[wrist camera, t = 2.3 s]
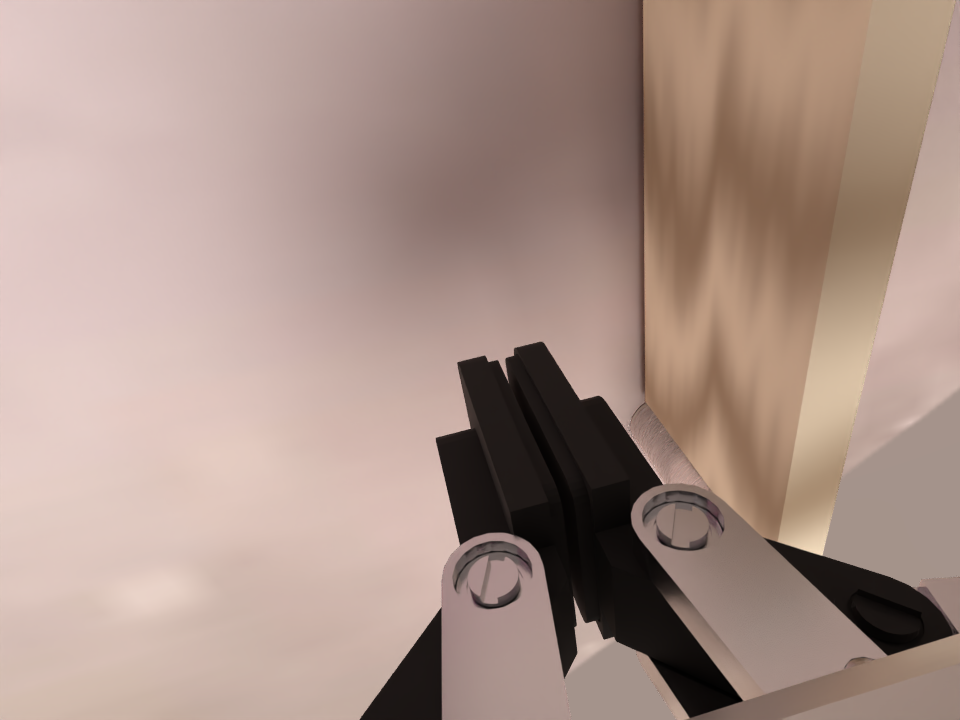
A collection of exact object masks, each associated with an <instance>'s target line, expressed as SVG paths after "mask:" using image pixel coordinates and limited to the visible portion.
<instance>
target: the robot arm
mask: <svg viewBox="0 0 960 720" xmlns="http://www.w3.org/2000/svg"><path fill="white" fill-rule="evenodd" d="M457 364H458V370H459V375H460V379H461V384H462V389H463V393H464V398H465V403H466V407H467V412H468V417H469V421H470V426H471V429H469V430H465V431H461V432H457V433H453V434H449V435H445V436H442V437H438V438H436V443H437V447H438V451H439V456H440V460H441V464H442V469H443V473H444V477H445V482H446V486H447V490H448V495H449V499H450V503H451V508H452V512H453V516H454V521H455V525H456V529H457V534H458V538H459V542H460V546H459V547H458V548H457V549H456V550H455V551H454V552H453V553H452V554H451V555H450V557H449V559H448V561H447V563H446V564H445V566H444V570H443V575H442V607H441V609H440V610H439V611H438V613H437V614H436V616H435V617H434V618H433V620H432V621H431V622H430V624H429V625H428V626H427V628H426V629H425V631H424V632H423V633H422V635H421V636H420V637H419V639H418V640H417V642H416V643H415V644H414V646H413V647H412V648H411V650H410V651H409V653H408V654H407V655H406V657H405V658H404V659H403V661H402V662H401V663H400V665H399V666H398V668H397V669H396V670H395V672H394V673H393V674H392V676H391V677H390V679H389V680H388V681H387V683H386V684H385V685H384V687H383V688H382V689H381V691H380V692H379V694H378V695H377V696H376V698H375V699H374V700H373V702H372V703H371V705H370V706H369V707H368V709H367V710H366V711H365V713H364V714H363V716H362V717H361V718H360V720H571V715H570V709H569V704H568V698H567V692H566V687H565V681H564V679H565V677H566V675H567V673H568V671H569V669H570V667H571V665H572V663H573V661H574V659H575V657H576V655H577V645H576V637H575V629H574V627H575V626H577V623H576V614H575V606H574V598H575V601H576V603H577V605H578V608H579V610H580V613H581V615H582V617H583V620H584V621H585V623H589V622H592V621H596V623H597V625H598V627H599V630H600V632H601V634H602V637H603V639H608V638H611V637H615V640H616V641H617V642H619V643H621V644H623V645H626V646H628V647H630V648H632V649H634V650H636V655H637V657H638V659H639V661H640V663H641V666H642V667H643V669H644V671H645V672H646V673H647V675H648V677H649V678H650V680H651V681H652V683H653V684H654V686H655V687H656V689H657V691H658V692H659V694H660V695H661V697H662V698H663V700H664V701H665V702H666V704H667V706H668V707H669V709H670V710H671V712H672V714H673V715H674V717H675V718H676V720H960V577H948V578H932V579H921V582H920V584H919V587H911V586H909V585H907V584H905V583H902V582H900V581H898V580H895V579H893V578H891V577H888V576H885V575H882V574H878V573H875V572H872V571H869V570H866V569H863V568H859V567H856V566H853V565H850V564H847V563H843V562H840V561H837V560H833V559H831V558H827V557H824V556H821V555H818V554H815V553H811V552H808V551H805V550H802V549H799V548H796V547H792V546H789V545H786V544H783V543H780V542H776V541H773V540H770V539H767V538H764V537H762V536H761V535H760V534H759V533H758V532H756V531H755V530H754V529H753V528H752V527H751V526H750V525H749V524H748V523H747V522H746V521H745V520H744V519H743V518H742V517H741V516H740V515H739V514H737V513H736V512H735V511H734V510H733V509H732V508H731V507H730V506H729V505H728V504H727V503H726V502H725V501H724V500H722V499H721V498H719V497H718V496H717V495H715V494H714V493H713V492H711V491H708V490H706V489H703V488H701V487H699V486H694V485H689V484H683V483H675V484H664V485H663V484H662V482H661V481H660V479H659V478H658V476H657V475H656V474H655V472H654V471H653V469H652V468H651V466H650V465H649V463H648V462H647V461H646V459H645V458H644V456H643V455H642V453H641V452H640V450H639V449H638V448H637V446H636V445H635V443H634V442H633V440H632V439H631V437H630V436H629V435H628V433H627V432H626V430H625V429H624V427H623V426H622V424H621V423H620V422H619V420H618V419H617V417H616V416H615V414H614V413H613V411H612V410H611V409H610V407H609V406H608V404H607V403H606V401H605V400H604V399H603V398H602V397H600V396H596V397H592V398H588V399H584V400H579V398H578V396H577V395H576V393H575V392H574V390H573V389H572V387H571V385H570V384H569V382H568V381H567V379H566V377H565V376H564V374H563V373H562V371H561V369H560V368H559V366H558V365H557V363H556V361H555V360H554V358H553V357H552V355H551V354H550V352H549V350H548V349H547V347H546V346H545V344H544V343H543V342H537V343H533V344H529V345H525V346H521V347H517V348H515V349H514V356H512V357H508V358H506V369H507V375H508V381H509V383H508V381H507V379H506V377H505V374H504V372H503V370H502V368H501V366H500V364H499V362H498V360H496V361H492V362H488V361H487V358H486V356H481V357H477V358H473V359H469V360H465V361H461V362H457ZM573 596H574V598H573Z"/></svg>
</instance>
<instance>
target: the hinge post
mask: <svg viewBox="0 0 960 720" xmlns="http://www.w3.org/2000/svg"><path fill="white" fill-rule="evenodd" d="M630 428H631V433H632V435H633V436H634V438H635V439H636V441H637V442H638V444H639V445H640V447H641V448H642V450H643V451H644V453H645V454H646V456H647V457H648V459H649V461H650V462H651V464H652V465H653V467H654V468H655V470H656V471H657V473H658V474H659V476H660V477H661V479H662V480H663V482H664V483H665V484H675V483H683V484H689V485H694V486H699V487H701V488H703V489H706V490H708V491H711V489H710V488H709V487H708V485H707V484H706V483H705V481H704V480H703V479H702V477H701V476H700V474H699V473H698V472H697V470H696V469H695V468H694V466H693V465H692V464H691V462H690V461H689V460H688V458H687V457H686V456H685V454H684V453H683V452H682V450H681V449H680V448H679V446H678V445H677V444H676V442H675V441H674V440H673V438H672V437H671V435H670V434H669V433H668V431H667V430H666V429H665V427H664V426H663V425H662V423H661V422H660V421H659V419H658V418H657V417H656V415H655V414H654V413H653V411H652V410H651V409H650V407H649V406H648V405H647V403H645V404H644V405H642V406H641V407H640V408H639V409H638V410H637V411H636V413H635V414H634V416H633V418H632V420H631V425H630ZM711 492H712V491H711Z"/></svg>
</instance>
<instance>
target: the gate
mask: <svg viewBox="0 0 960 720" xmlns="http://www.w3.org/2000/svg"><path fill="white" fill-rule="evenodd" d="M955 2H956V0H643V89H644V267H645V402H646V403H647V405H648V406H649V407H650V409H651V410H652V411H653V413H654V414H655V415H656V417H657V418H658V419H659V421H660V422H661V423H662V425H663V426H664V427H665V429H666V430H667V431H668V433H669V434H670V435H671V437H672V438H673V440H674V441H675V442H676V444H677V445H678V446H679V448H680V449H681V450H682V452H683V453H684V454H685V456H686V457H687V458H688V460H689V461H690V462H691V464H692V465H693V466H694V468H695V469H696V470H697V472H698V473H699V474H700V476H701V477H702V479H703V480H704V481H705V483H706V484H707V485H708V487H709V488H710V489H711V491H712V492H713V493H714V494H715V495H717V496H718V497H719V498H721V499H722V500H724V501H725V502H726V503H727V504H728V505H729V506H730V507H731V508H732V509H733V510H734V511H735V512H736V513H737V514H739V515H740V516H741V517H742V518H743V519H744V520H745V521H746V522H747V523H748V524H749V525H750V526H751V527H752V528H753V529H754V530H755V531H756V532H758V533H759V534H760V535H761V536H762V537H764V538H767V539H770V540H773V541H776V542H780V543H783V544H786V545H789V546H792V547H796V548H799V549H802V550H805V551H808V552H811V553H815V554H818V555H821V556H822V554H823V550H824V546H825V542H826V538H827V534H828V530H829V525H830V521H831V517H832V513H833V509H834V504H835V501H836V496H837V492H838V488H839V484H840V480H841V476H842V471H843V467H844V463H845V459H846V455H847V451H848V447H849V442H850V438H851V434H852V430H853V426H854V422H855V417H856V413H857V409H858V405H859V401H860V397H861V393H862V388H863V384H864V380H865V376H866V372H867V368H868V364H869V359H870V355H871V351H872V347H873V343H874V339H875V334H876V330H877V326H878V322H879V318H880V314H881V310H882V305H883V301H884V297H885V293H886V289H887V285H888V281H889V276H890V272H891V268H892V264H893V260H894V256H895V251H896V247H897V243H898V239H899V235H900V231H901V227H902V222H903V218H904V214H905V210H906V206H907V202H908V197H909V193H910V189H911V185H912V181H913V177H914V173H915V168H916V164H917V160H918V156H919V152H920V148H921V144H922V139H923V135H924V131H925V127H926V123H927V119H928V114H929V110H930V106H931V102H932V98H933V94H934V90H935V85H936V81H937V77H938V73H939V69H940V65H941V60H942V56H943V52H944V48H945V44H946V40H947V36H948V31H949V27H950V23H951V19H952V15H953V11H954V7H955Z"/></svg>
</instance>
